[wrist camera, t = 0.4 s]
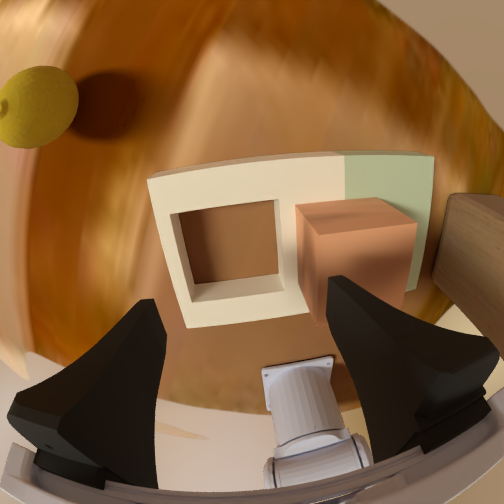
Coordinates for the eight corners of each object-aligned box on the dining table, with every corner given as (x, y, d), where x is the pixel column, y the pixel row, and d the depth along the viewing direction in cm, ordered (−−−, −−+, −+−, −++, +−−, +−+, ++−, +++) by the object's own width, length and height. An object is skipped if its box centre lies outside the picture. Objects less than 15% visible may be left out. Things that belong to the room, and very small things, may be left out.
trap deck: (402, 275, 24) (415, 288, 22) (189, 309, 23) (187, 328, 21) (415, 151, 18) (434, 156, 16) (156, 172, 18) (146, 179, 16)
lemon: (82, 59, 13) (18, 40, 6) (107, 113, 15) (42, 115, 8) (34, 102, 14) (-34, 107, 6) (56, 154, 16) (-12, 178, 9)
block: (370, 270, 20) (400, 308, 16) (297, 282, 20) (316, 328, 15) (376, 197, 17) (417, 222, 13) (294, 204, 17) (319, 235, 13)
